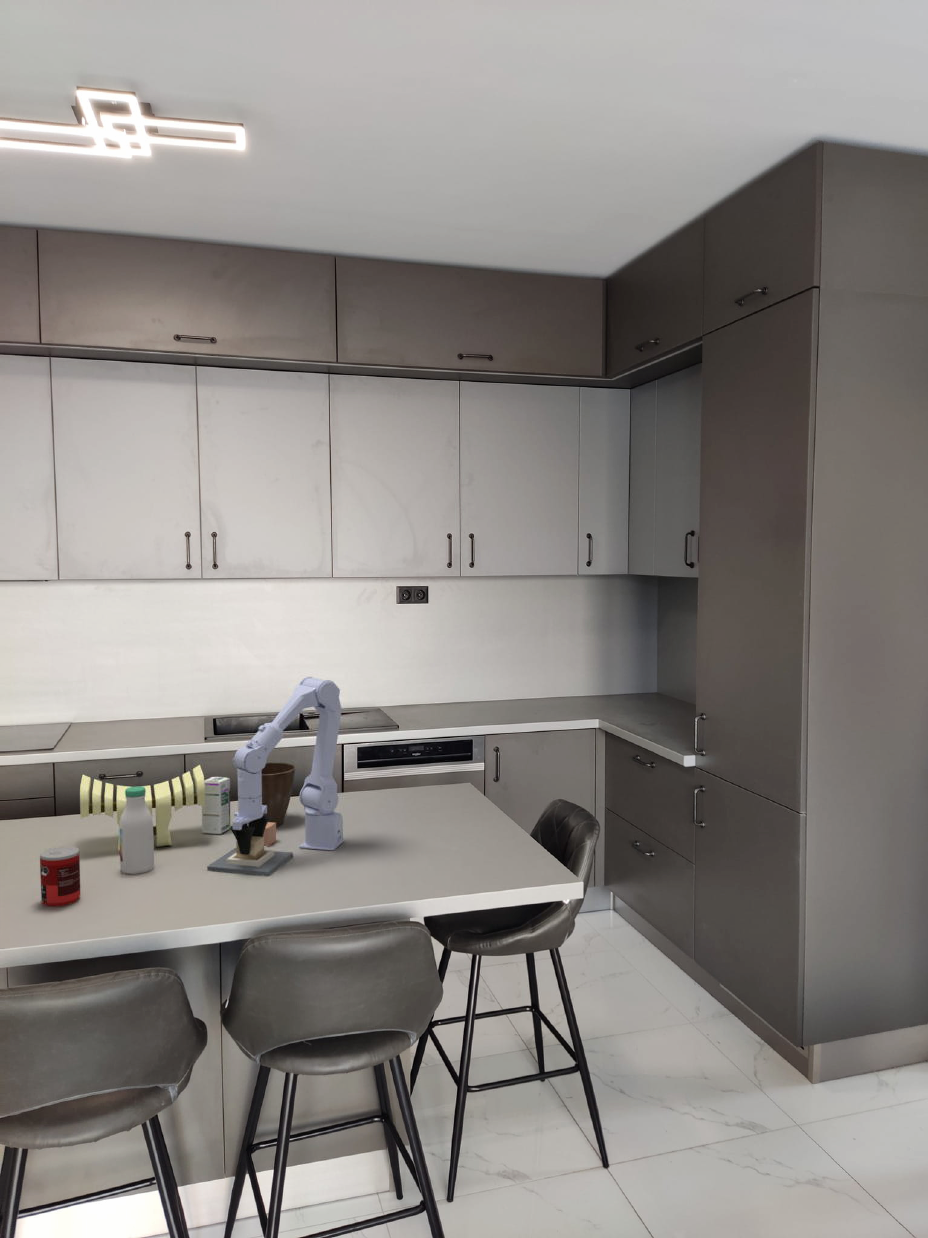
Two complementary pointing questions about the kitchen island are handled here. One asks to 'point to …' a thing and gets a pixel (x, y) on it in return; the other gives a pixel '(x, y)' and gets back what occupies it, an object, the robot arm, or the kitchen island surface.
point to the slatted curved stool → (160, 801)
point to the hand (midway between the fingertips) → (250, 850)
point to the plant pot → (277, 790)
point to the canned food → (60, 876)
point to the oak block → (252, 849)
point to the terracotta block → (269, 834)
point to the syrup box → (216, 805)
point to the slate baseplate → (250, 863)
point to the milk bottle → (136, 833)
